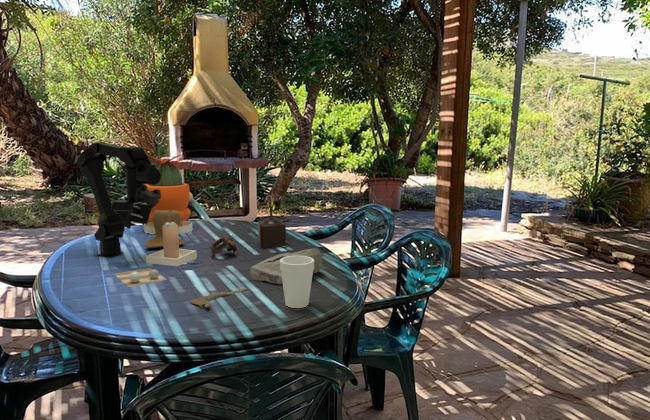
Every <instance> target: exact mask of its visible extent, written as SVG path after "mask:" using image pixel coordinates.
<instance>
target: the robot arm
mask: <svg viewBox="0 0 650 420" xmlns="http://www.w3.org/2000/svg"><path fill="white" fill-rule="evenodd" d="M107 156H108V157H113V158H117V159H118V160H119V161H120V162H122V163H124V165H122V166H121V169H122V170H125V182H126V185H124V186H123V189H124V190H126V196H125V197H124V200H123V199H119V200H115V201H111V198H110V195H109V191H108V189H107V188H108V187H107V185H106V181H105V180H104V177H103V172H104V168H105V166H104V163H105V161H106V160H107V159H108V158H107ZM149 158H150V157H149V156H148V155H147V153H146V151H145V149H144V147H142V146H122V145H117V144H113V143H107V142H105V141H99V142H98V141H95V142H93V143H92V144H91V145H89V147H88V148H86V149H84V150H83V151H82V152H81V153H80V154H79V156H78V157H77V158H76V164H77V165H78V168H79V170H80V172H81V173H82V174H83V175H84V176H85V177H86V178H87V179H88V181H89V184H90V187H91V188H90V189H91V190H92V195H93V196H94V197H93V198H94V200H95V203H96V206H97V208H98V213H99V218H98V221H97V224H98V228H97V229H96V231H95V233H94V239H95V240H96V241H99V246H100V249H99V250H100V253H98V254H97V256H99V257H108V258H113V257H116V256H118V255H121V254H123V253H124V252H123V251H121V242H120V238H124V234H125V228H126V229H128V230H130V229H131V227H132V213H133V212H134V210H135V209H134V206H137V205H138V206H139V210H140V214H141V218H142V222H143V225H144V224H147V223H148V222H149V221H148V219H149V216H150V212H151V210H152V208H153V207H154V206H156V205H157V203H159V199H161V192H160V190H158V189H155V190H153V191H149V190H147V186H146V185H145V184H152V185H155V184H157V183H159V181H160V179H161V174H160V172H159V170H158V169H156V166H155V165H156V164H153V163H151V162H150V159H149Z"/></svg>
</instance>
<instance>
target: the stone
mask: <svg viewBox="0 0 650 420" xmlns="http://www.w3.org/2000/svg"><path fill="white" fill-rule="evenodd" d="M287 256H307V257H311V258H313V259H314V270H313V273H315V274H318V273H319V272H320V271H321V269H322V262H323V255H322V252H321V251H320V249H319V247H317V248H316V247H313V248H308V249H307V248H306V249H303V250H299V251H295V252H284V253H280V254H276V255H273V257H269V258H266V259H264V260H262V261H260V262H259V263H256V264H255V265H252V266H251V267H250V269H249V273H250V279H251V280H252V281H260V282H263V281H265V282H268V283H271V284H278V285H283V282H282V275H281V270H280V259H281V258H283V257H287ZM317 272H318V273H317Z"/></svg>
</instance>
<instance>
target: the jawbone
mask: <svg viewBox="0 0 650 420" xmlns="http://www.w3.org/2000/svg"><path fill="white" fill-rule="evenodd" d="M248 290H250V288H248V287H245V288H241V289H239V290H234V291H221V292H215V293H212V294H207V295H204V296H201V297H198V298H193V299H191V300H190V301H189V303H190V304H192V305H196V306H198V307H199V309H200V310H202V309H204V308H206V309H207V308H209V307H210V306H211V302H210V301H213V300H217V298H221V297H223V296H229V295H235V294H238V293H242V292H246V291H248Z"/></svg>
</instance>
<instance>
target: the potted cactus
mask: <svg viewBox="0 0 650 420" xmlns="http://www.w3.org/2000/svg"><path fill="white" fill-rule="evenodd" d="M179 157H181V154H178V155H176V156H173V157H171V158H169V156H166V158H165V157H164V156H163V157H160V158H161V159H160V158H158V157H155V156H152V155H150V156H149V158H151V159H154V160H156V161H154V160H150V159H149V160H150V162H151V164H154V165H155V166H156V169H158V170H159V172H160V174H161V179H160V181H159V183H157V184H155V185H152V184H144V185H146V186H147V190H149V191H153V190H155V189H158V190H160V192H161V199H159V203H157V205H156V206H154V207H153V208H152V210H151V212H150V216H149V219H148V223H147V224H144V223H143V230H144V231H143V232H144V233H145V234H147V233H149V235H154V234H156V232H155V228H154V223H153V214H154V211H156V210H160V211H178V212H179V214H180V224H179V228H178V235H181V234H182V233H183V234H188V233H190V231H191V232H193V222H192V221H189V220H188V219H189V218H190V216H192V215H191V214H192V213H191V212H192V211H191V209H190V208H189V207H188V206H189V203H190V202H191V201H192V200H193V193H192V192H190V191H191V189H190V185H189V183H185V181H183V175H182V171H181V170H180V169H179V167H178V166H177V164H178V162H181V161H183V159H179V160H175V159H177V158H179ZM187 232H188V233H187Z"/></svg>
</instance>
